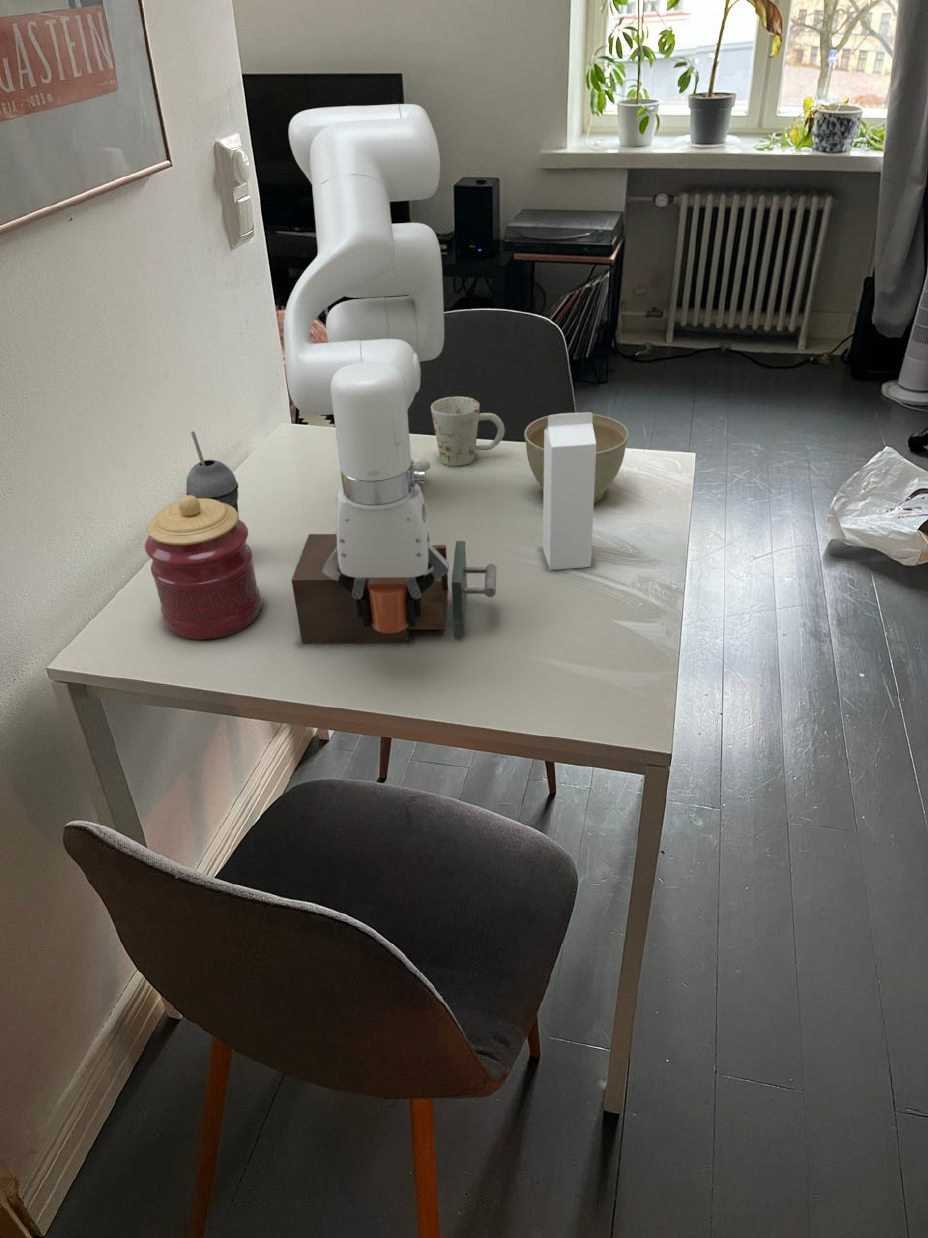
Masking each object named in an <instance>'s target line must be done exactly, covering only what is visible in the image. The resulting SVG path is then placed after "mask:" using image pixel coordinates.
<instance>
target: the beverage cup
mask: <svg viewBox="0 0 928 1238" xmlns="http://www.w3.org/2000/svg"><path fill="white" fill-rule="evenodd" d="M190 435H191V437H192V439H193V443H194V447H195V450H196V454H197V455H198V459H199V462H197V463H196V464H195V465H194V466H192V468H191V469H190V471H189V472H188V475H187V477H186V490H185V492H186V496H187V495H192V496H195V497H196V498H206V499H213V500H217V501H219V502H221V503H225V504H228V505H230V506H232V507H233V508H234V509H235V510H236V511H237V513H238V519H239V520H240V515H239V505H238V500H239V483H238V481H237V479H236V476H235V474H234V472H233V470H231V469H230V467H229V466H228V465H226V464H225V463H223V462H222V461H219V460H216V459H204V457H203V453H202V450H201V447H200V444H199V441H198V437H197V435H196V432H195V431H191V432H190Z"/></svg>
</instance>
